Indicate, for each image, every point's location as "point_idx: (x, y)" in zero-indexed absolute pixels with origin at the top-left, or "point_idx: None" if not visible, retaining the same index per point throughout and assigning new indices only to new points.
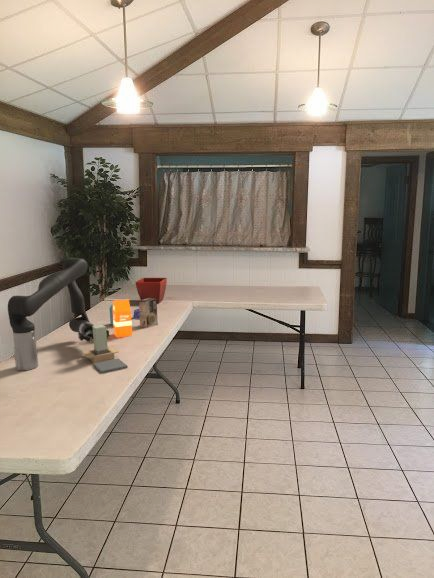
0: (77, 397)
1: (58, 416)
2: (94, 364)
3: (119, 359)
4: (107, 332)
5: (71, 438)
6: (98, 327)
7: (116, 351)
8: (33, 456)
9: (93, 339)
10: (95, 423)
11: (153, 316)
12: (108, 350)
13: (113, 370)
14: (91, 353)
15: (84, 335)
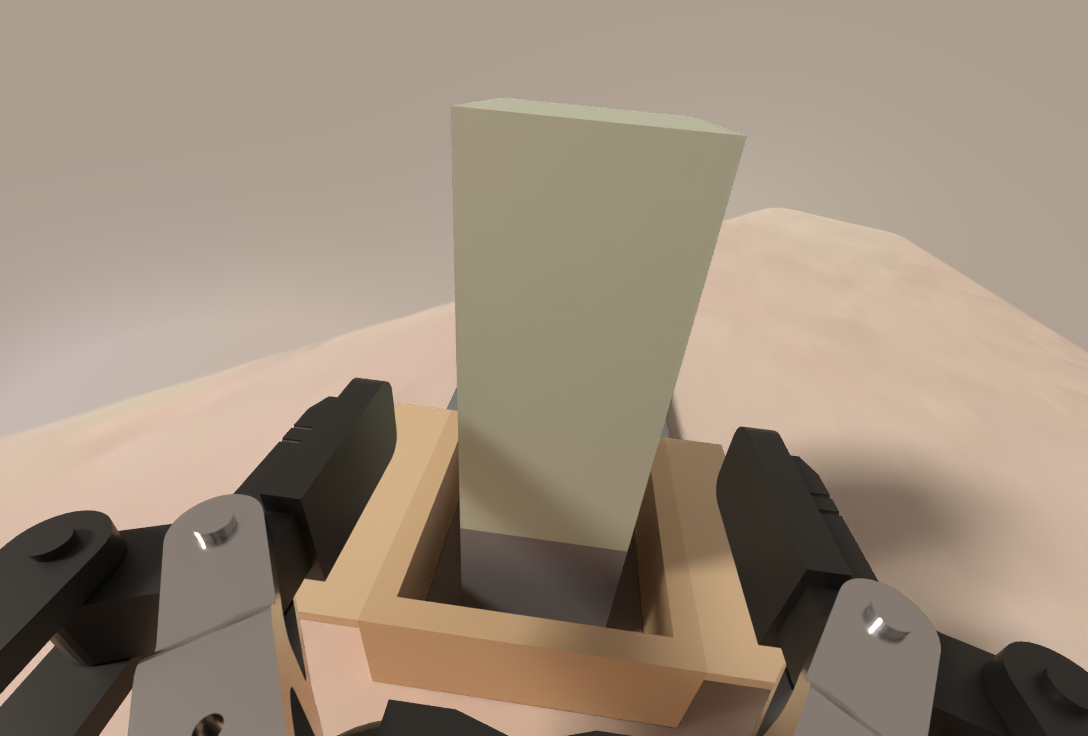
0: (774, 279)
1: (819, 253)
2: (666, 425)
3: (453, 398)
4: (133, 538)
5: (775, 219)
6: (631, 112)
7: (412, 417)
8: (838, 220)
9: (659, 430)
10: (725, 221)
11: None
12: (430, 521)
13: None
14: (674, 523)
15: (924, 619)
